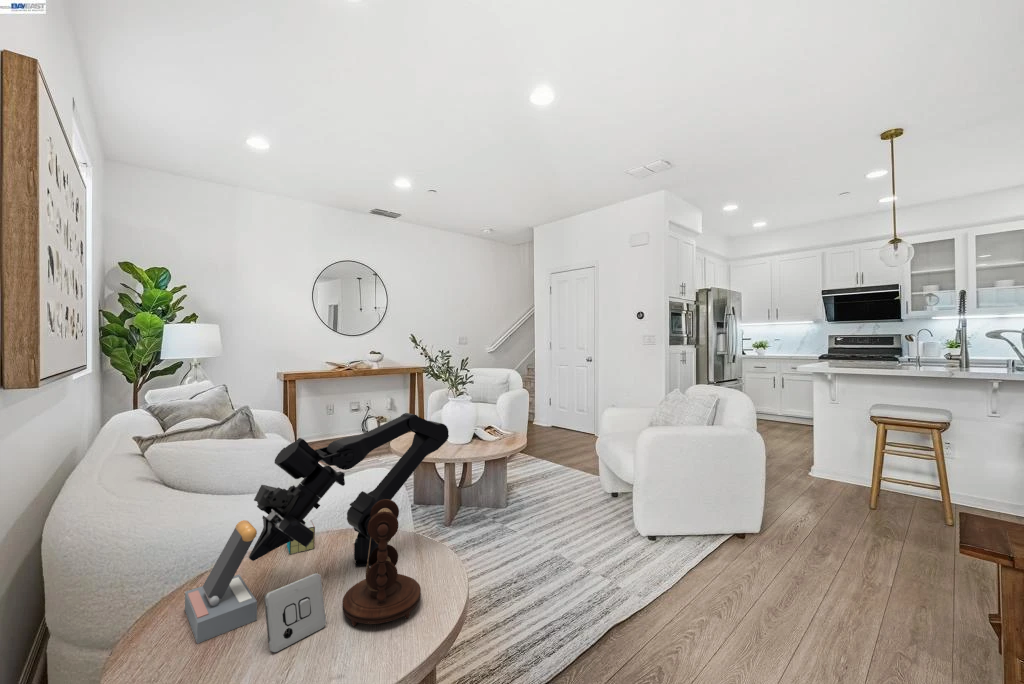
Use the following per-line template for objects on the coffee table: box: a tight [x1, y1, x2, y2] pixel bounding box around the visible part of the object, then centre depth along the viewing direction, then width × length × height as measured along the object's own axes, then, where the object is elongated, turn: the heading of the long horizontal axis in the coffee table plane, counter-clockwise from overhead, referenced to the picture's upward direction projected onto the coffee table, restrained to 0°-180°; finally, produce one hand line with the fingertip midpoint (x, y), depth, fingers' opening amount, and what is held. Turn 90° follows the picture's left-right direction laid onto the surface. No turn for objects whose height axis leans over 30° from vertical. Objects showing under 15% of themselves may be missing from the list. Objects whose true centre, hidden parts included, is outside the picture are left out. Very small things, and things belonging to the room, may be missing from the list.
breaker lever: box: [202, 519, 258, 606], centre depth 81 cm, size 3×7×14 cm, turn 46°
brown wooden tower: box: [341, 499, 422, 627], centre depth 83 cm, size 15×15×20 cm
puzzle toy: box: [286, 519, 316, 555], centre depth 107 cm, size 6×6×6 cm
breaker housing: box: [184, 574, 258, 644], centre depth 80 cm, size 9×13×4 cm
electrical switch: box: [263, 572, 327, 653], centre depth 75 cm, size 9×5×9 cm, turn 141°
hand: (250, 559), depth 83 cm, fingers closed
